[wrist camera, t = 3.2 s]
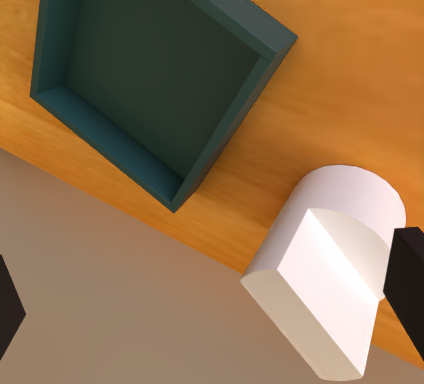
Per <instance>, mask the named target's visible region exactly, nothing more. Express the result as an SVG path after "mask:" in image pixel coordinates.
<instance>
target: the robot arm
mask: <svg viewBox="0 0 424 384" xmlns="http://www.w3.org/2000/svg"><path fill="white" fill-rule="evenodd" d="M383 293H384V295H385V297H386V298H387V300H388V302H389V303H390V305H391V307H392V308H393V310H394V312H395V314H396V315H397V317H398V319H399V320H400V322H401V324H402V325H403V327H404V329H405V330H406V332H407V334H408V336H409V337H410V339H411V341H412V342H413V344H414V346H415V347H416V349H417V351H418V352H419V354H420V356H421V357H422V359H423V361H424V233H423V232H422V231H421V230H420V229H419V227H407V228H394V233H393V239H392V244H391V249H390V255H389V260H388V266H387V271H386V276H385V282H384V287H383ZM25 315H26V313H25V311H24V308H23V306H22V303H21V301H20V298H19V296H18V294H17V291H16V289H15V286H14V284H13V281H12V279H11V277H10V274H9V272H8V269H7V267H6V265H5V262H4V260H3V257H2V255H0V360H1V358H2V357H3V355H4V353H5V351H6V349H7V348H8V346H9V344H10V342H11V341H12V339H13V337H14V335H15V333H16V332H17V330H18V328H19V326H20V324H21V322H22V321H23V319H24V317H25Z"/></svg>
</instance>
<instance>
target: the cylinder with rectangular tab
mask: <svg viewBox="0 0 424 384" xmlns="http://www.w3.org/2000/svg"><path fill="white" fill-rule="evenodd" d="M405 223H406V214H405V208H404V205H403V203H402V201H401V199H400V197H399V195H398V193H397V192H396V191H395V190H394V189H393V188H392V187H391V185H390V184H389V183H388V182H387V181H385V180H384V179H382V178H381V177H379V176H377V175H376V174H374V173H373V172H370V171H367V170H364V169H362V168H359V167H355V166H347V165H331V166H324V167H321V168H319V169H316V170H313V171H311V172H310V173H308V174H307V175H305V176H304V177H302V179H301V180H300V181H299V182H298V184H297V185H296V186H295V188H294V189H293V191H292V193H291V194H290V196H289V198H288V199H287V201H286V203H285V204H284V206H283V207H282V209H281V211H280V212H279V214H278V216H277V217H276V219H275V221H274V222H273V224H272V226H271V227H270V229H269V232H268V234H267V236H266V238H265V239H264V241H263V243H262V244H261V246H260V248H259V249H258V251H257V253H256V254H255V256H254V258H253V259H252V261H251V263H250V264H249V266H248V268H247V269H246V271H245V273H244V274H243V276H242V277H241V279H240V282H241V284H242V285H243V286H244V287H245V288H246V290H247V291H248V292H249V293H250V294H251V296H252V297H253V298H254V299H255V300H256V302H257V303H258V304H259V305H260V307H261V308H262V309H263V310H264V311H265V313H267V315H268V316H269V317H270V318H271V320H272V321H273V322H274V323H275V325H276V326H277V327H278V328H279V329H280V331H281V332H282V333H283V334H284V335H285V337H286V338H287V339H288V340H289V341H290V343H291V344H292V345H293V346H294V347H295V349H296V350H297V351H298V352H299V354H300V355H301V356H302V357H303V358H304V359H305V361H306V362H307V363H308V364H309V365H310V367H311V368H312V369H313V370H314V372H315V373H316V374H317V375H318V376H319V377H320V378H321V379H325V380H335V381H347V380H354V379H360V378H362V377H363V375H364V370H365V365H366V360H367V355H368V351H369V346H370V341H371V336H372V332H373V327H374V322H375V317H376V312H377V308H378V303H379V301H380V300H382V299H383V298H385V295H384V293H383V287H384V282H385V276H386V271H387V266H388V260H389V255H390V249H391V244H392V239H393V233H394V228H405Z"/></svg>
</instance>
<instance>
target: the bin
mask: <svg viewBox="0 0 424 384" xmlns="http://www.w3.org/2000/svg"><path fill="white" fill-rule="evenodd" d="M297 38H298V36H296V35H295V34H294V33H292V32H291V31H290V30H288V29H287V28H286V27H285V26H283V25H282V24H281V23H279V22H278V21H277V20H275V19H274V18H273V17H271V16H270V15H269V14H267V13H266V12H265V11H264V10H262V9H261V8H260V7H258V6H257V5H256V4H254V3H253V2H252V1H250V0H40V4H39V13H38V23H37V32H36V42H35V51H34V61H33V70H32V80H31V90H30V97H31V98H32V99H34V100H35V101H36V102H37V103H39V104H40V105H41V106H42V107H43V108H45V109H46V110H47V111H48V112H50V113H51V114H52V115H53V116H55V117H56V118H57V119H58V120H59V121H61V122H62V123H63V124H64V125H66V126H67V127H68V128H69V129H71V130H72V131H73V132H74V133H75V134H77V135H78V136H79V137H80V138H82V139H83V140H84V141H85V142H87V143H88V144H89V145H90V146H92V147H93V148H94V149H95V150H96V151H98V152H99V153H100V154H101V155H103V156H104V157H105V158H106V159H108V160H109V161H110V162H111V163H112V164H114V165H115V166H116V167H117V168H119V169H120V170H121V171H122V172H124V173H125V174H126V175H127V176H128V177H130V178H131V179H132V180H133V181H135V182H136V183H137V184H138V185H140V186H141V187H142V188H143V189H144V190H146V191H147V192H148V193H149V194H151V195H152V196H153V197H154V198H156V199H157V200H158V201H159V202H161V203H162V204H163V205H164V206H165V207H167V208H168V209H169V210H170V211H172V212H173V213H175V212H176V211H177V210H178V209H179V208H180V207H181V206H182V205H183V204H184V203H185V202H186V201H187V199H188V198H189V197H190V196H191V195H192V194H193V193H194V192H195V191H196V190H197V188H198V187H199V185H200V184H201V182H202V181H203V179H204V178H205V176H206V175H207V173H208V172H209V170H210V169H211V167H212V166H213V164H214V163H215V161H216V160H217V158H218V157H219V155H220V154H221V152H222V151H223V149H224V148H225V146H226V145H227V143H228V142H229V140H230V139H231V137H232V136H233V134H234V133H235V131H236V130H237V128H238V127H239V125H240V124H241V122H242V121H243V119H244V118H245V116H246V115H247V113H248V112H249V110H250V109H251V107H252V106H253V104H254V103H255V101H256V100H257V98H258V97H259V95H260V94H261V92H262V91H263V89H264V88H265V86H266V85H267V83H268V82H269V80H270V79H271V77H272V76H273V74H274V73H275V71H276V70H277V68H278V67H279V65H280V64H281V62H282V61H283V59H284V58H285V56H286V55H287V53H288V52H289V50H290V49H291V47H292V45H293V44H294V42H295V41H296V39H297Z"/></svg>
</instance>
